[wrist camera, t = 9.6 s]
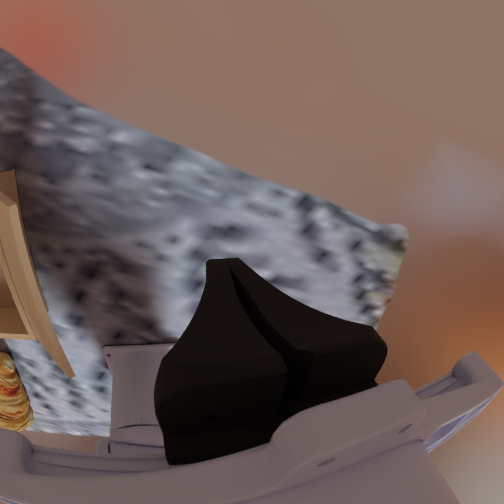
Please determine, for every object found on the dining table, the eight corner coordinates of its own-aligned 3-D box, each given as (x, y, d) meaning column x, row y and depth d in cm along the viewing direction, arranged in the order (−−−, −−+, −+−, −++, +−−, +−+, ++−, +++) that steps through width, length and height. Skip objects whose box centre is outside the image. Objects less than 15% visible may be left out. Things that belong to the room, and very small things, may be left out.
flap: (36, 336, 18) (40, 334, 18) (70, 378, 16) (75, 375, 16) (-10, 190, 12) (-4, 188, 13) (7, 207, 10) (16, 203, 10)
